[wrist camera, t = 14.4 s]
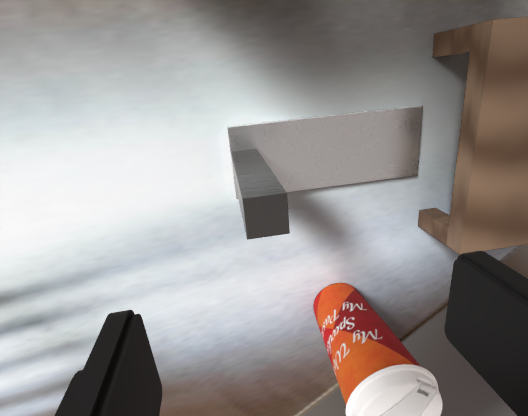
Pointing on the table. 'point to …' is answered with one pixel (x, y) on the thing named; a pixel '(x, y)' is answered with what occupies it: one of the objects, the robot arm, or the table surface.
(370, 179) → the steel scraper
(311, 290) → the table surface
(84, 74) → the table surface
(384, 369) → the coffee cup
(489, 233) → the walnut bench
